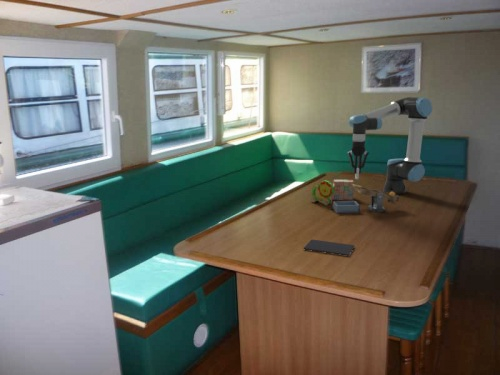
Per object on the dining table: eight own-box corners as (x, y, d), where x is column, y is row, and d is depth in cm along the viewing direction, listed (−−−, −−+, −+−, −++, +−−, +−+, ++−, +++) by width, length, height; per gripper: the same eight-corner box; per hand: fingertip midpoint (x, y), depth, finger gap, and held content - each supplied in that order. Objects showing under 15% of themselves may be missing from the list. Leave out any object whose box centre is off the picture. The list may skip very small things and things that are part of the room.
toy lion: (309, 202, 294) (310, 179, 290) (314, 200, 298) (315, 177, 294) (330, 206, 283) (331, 182, 280) (335, 204, 287) (336, 181, 284)
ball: (392, 197, 275) (394, 192, 275) (394, 198, 272) (397, 193, 272) (387, 195, 275) (390, 190, 274) (389, 196, 272) (392, 191, 271)
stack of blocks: (320, 199, 300) (320, 181, 297) (319, 197, 306) (319, 179, 303) (353, 199, 298) (353, 181, 295) (351, 197, 304) (352, 179, 301)
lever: (386, 197, 288) (389, 190, 287) (397, 204, 271) (399, 196, 270) (350, 189, 285) (353, 182, 284) (358, 196, 268) (361, 188, 267)
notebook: (303, 251, 212) (348, 257, 203) (303, 247, 212) (349, 254, 203) (311, 242, 223) (355, 248, 214) (311, 239, 223) (355, 245, 214)
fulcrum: (379, 206, 280) (380, 189, 278) (386, 211, 270) (387, 193, 267) (367, 207, 280) (367, 189, 277) (373, 212, 269) (373, 194, 267)
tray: (354, 207, 279) (354, 200, 278) (359, 212, 269) (359, 205, 268) (332, 208, 278) (332, 201, 277) (336, 213, 268) (337, 205, 267)
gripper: (367, 139, 280) (365, 177, 285) (346, 140, 279) (344, 177, 285) (371, 141, 273) (369, 179, 278) (349, 141, 272) (348, 180, 277)
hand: (356, 178), depth 281 cm, fingers closed
